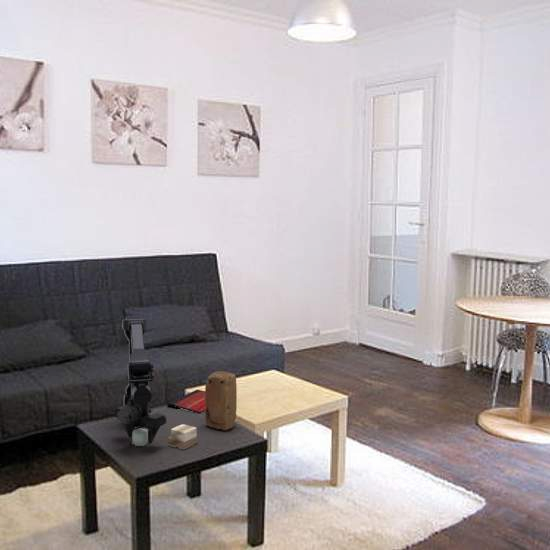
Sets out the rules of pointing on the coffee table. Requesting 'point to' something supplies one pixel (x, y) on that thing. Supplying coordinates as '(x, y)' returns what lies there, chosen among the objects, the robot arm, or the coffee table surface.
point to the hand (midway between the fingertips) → (140, 440)
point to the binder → (191, 401)
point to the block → (221, 400)
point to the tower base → (182, 442)
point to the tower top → (183, 432)
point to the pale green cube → (140, 436)
